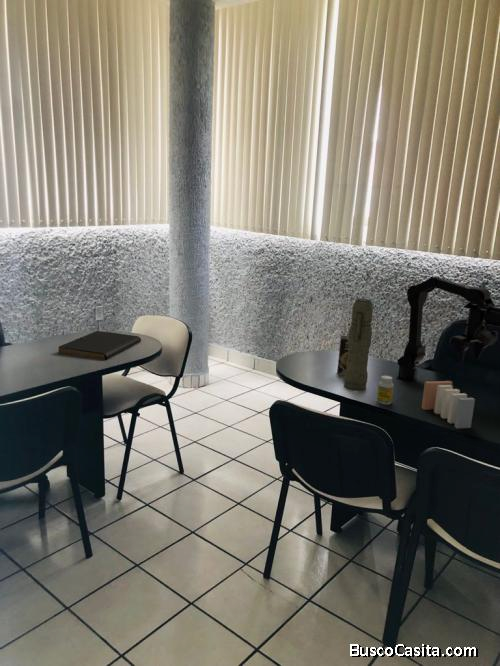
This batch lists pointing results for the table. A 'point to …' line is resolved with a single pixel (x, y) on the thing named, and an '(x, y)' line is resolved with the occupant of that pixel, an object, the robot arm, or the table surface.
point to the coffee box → (343, 356)
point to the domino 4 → (454, 406)
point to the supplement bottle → (385, 390)
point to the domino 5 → (464, 412)
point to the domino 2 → (440, 397)
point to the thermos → (359, 345)
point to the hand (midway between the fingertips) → (468, 361)
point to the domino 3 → (447, 401)
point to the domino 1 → (431, 393)
